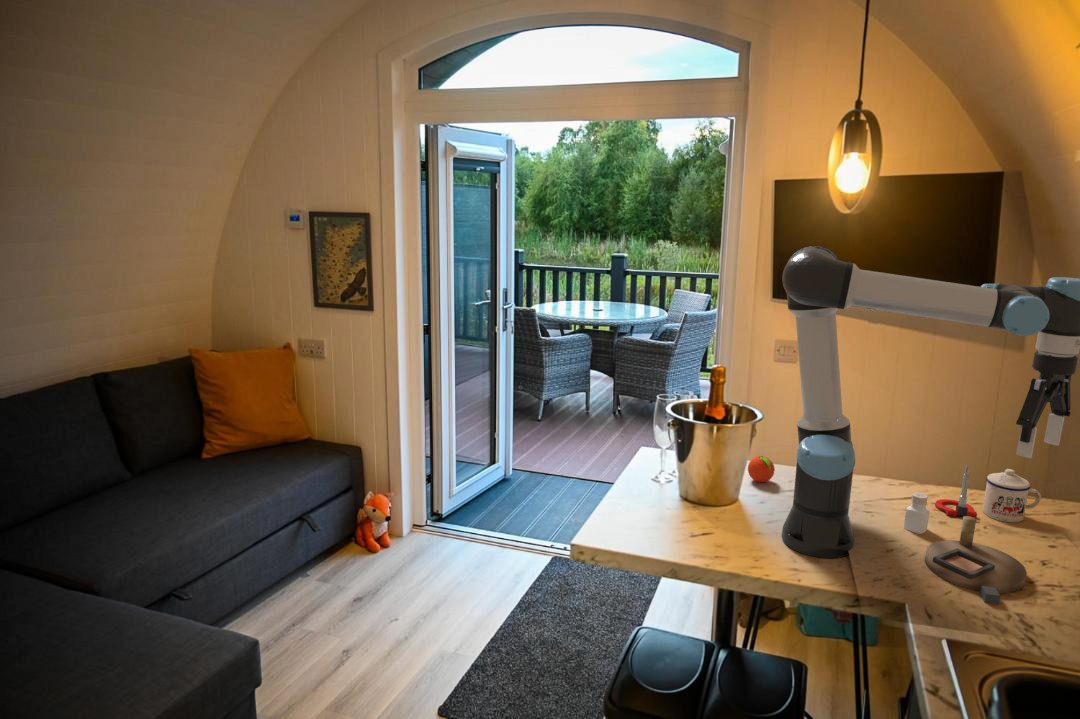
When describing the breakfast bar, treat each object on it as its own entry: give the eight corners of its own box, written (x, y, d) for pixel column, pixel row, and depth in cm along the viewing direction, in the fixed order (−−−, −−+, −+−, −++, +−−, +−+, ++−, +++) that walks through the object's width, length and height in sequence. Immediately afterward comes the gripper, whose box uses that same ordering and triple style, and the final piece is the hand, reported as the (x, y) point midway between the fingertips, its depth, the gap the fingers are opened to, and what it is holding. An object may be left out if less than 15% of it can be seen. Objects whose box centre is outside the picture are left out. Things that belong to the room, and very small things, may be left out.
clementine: (781, 486, 200) (783, 461, 198) (757, 489, 198) (759, 463, 196) (764, 475, 207) (766, 450, 205) (741, 477, 205) (743, 453, 204)
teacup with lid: (988, 521, 180) (995, 475, 178) (976, 505, 189) (983, 461, 186) (1044, 526, 178) (1052, 480, 175) (1029, 510, 186) (1037, 466, 184)
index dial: (934, 585, 149) (940, 548, 148) (917, 543, 166) (921, 510, 164) (1038, 599, 145) (1045, 561, 143) (1009, 555, 162) (1015, 521, 160)
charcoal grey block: (983, 607, 144) (985, 593, 143) (979, 599, 147) (981, 585, 146) (997, 609, 143) (1000, 595, 143) (993, 601, 146) (995, 587, 145)
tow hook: (929, 502, 192) (943, 516, 183) (936, 453, 189) (950, 465, 180) (965, 504, 190) (980, 519, 181) (972, 455, 188) (987, 468, 179)
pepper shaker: (919, 539, 171) (924, 500, 169) (901, 532, 174) (907, 494, 172) (927, 534, 174) (932, 495, 171) (910, 527, 177) (915, 490, 174)
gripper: (1051, 364, 146) (1031, 467, 151) (1100, 349, 160) (1081, 443, 165) (1009, 356, 152) (991, 456, 157) (1061, 342, 166) (1043, 433, 171)
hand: (1037, 449), depth 161 cm, fingers open, 13 cm apart
